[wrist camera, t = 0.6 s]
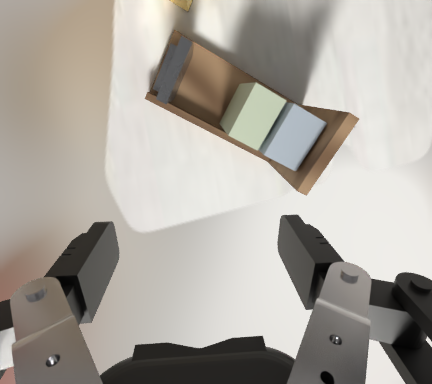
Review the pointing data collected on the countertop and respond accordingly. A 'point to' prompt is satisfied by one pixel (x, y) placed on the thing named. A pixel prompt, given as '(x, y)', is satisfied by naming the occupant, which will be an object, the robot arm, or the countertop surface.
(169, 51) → the bookend
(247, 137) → the book sage
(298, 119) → the book slate
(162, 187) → the countertop surface
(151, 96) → the book trough
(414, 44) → the countertop surface
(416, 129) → the countertop surface
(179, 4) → the book ochre
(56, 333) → the robot arm
